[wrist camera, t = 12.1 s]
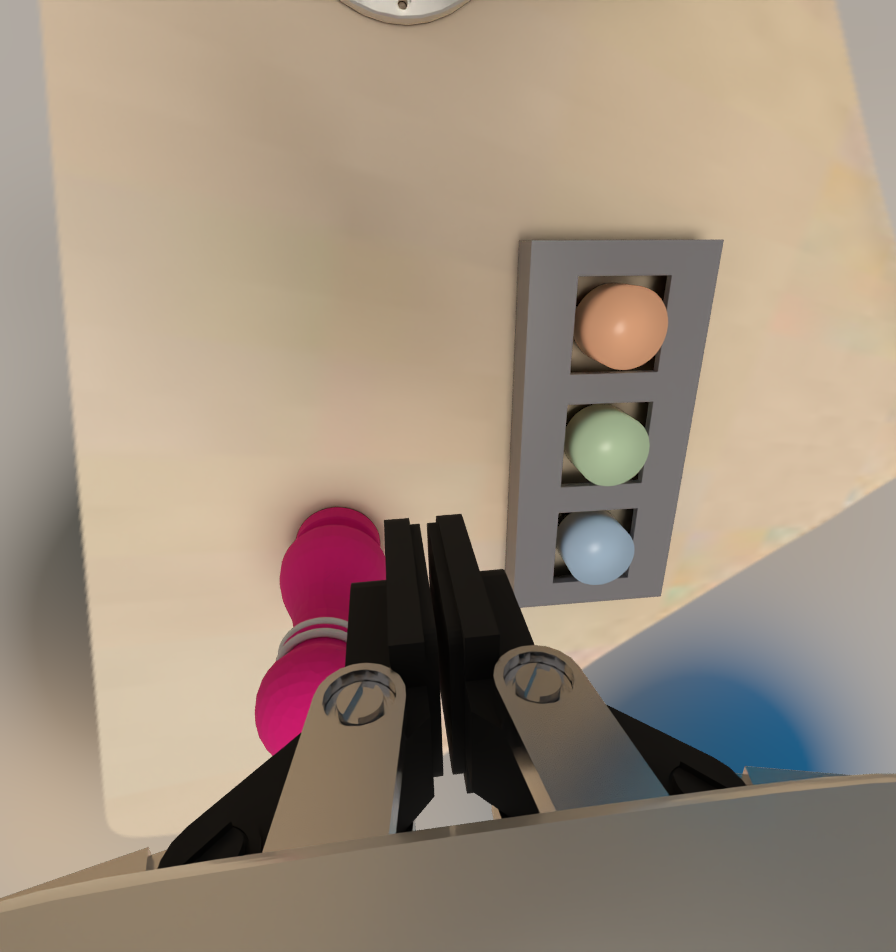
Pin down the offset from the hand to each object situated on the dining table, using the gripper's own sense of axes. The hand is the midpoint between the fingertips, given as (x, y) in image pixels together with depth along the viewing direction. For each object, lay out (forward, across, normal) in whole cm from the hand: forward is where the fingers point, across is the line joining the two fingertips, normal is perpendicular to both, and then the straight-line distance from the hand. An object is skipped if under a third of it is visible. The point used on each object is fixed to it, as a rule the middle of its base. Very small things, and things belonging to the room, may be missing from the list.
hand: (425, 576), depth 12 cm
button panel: (+27, -14, +7) cm, 31 cm away
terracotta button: (+25, -14, -1) cm, 29 cm away
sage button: (+25, -14, +7) cm, 30 cm away
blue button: (+25, -14, +15) cm, 32 cm away
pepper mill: (+27, +5, +14) cm, 31 cm away
